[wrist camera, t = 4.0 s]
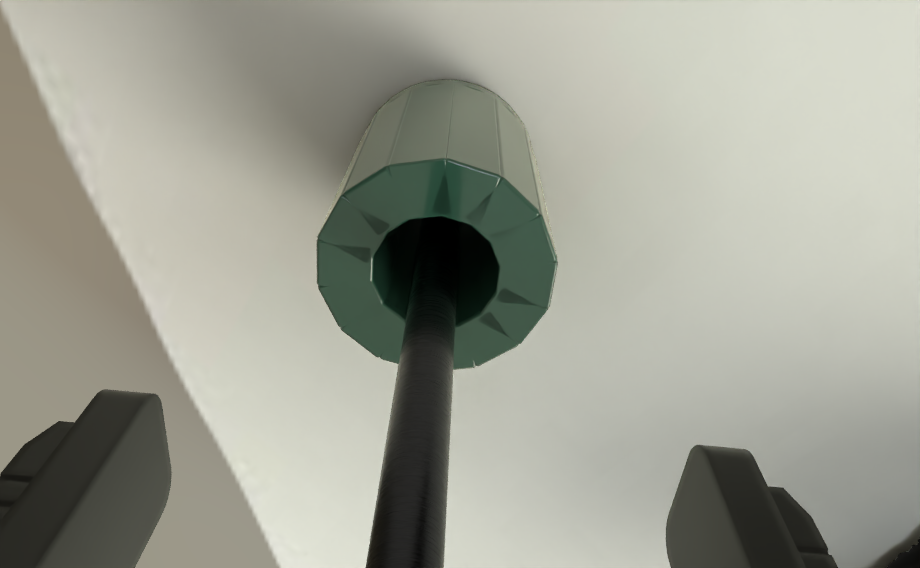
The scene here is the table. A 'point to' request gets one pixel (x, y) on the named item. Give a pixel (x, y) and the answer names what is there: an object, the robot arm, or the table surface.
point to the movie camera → (908, 558)
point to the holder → (449, 195)
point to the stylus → (420, 412)
